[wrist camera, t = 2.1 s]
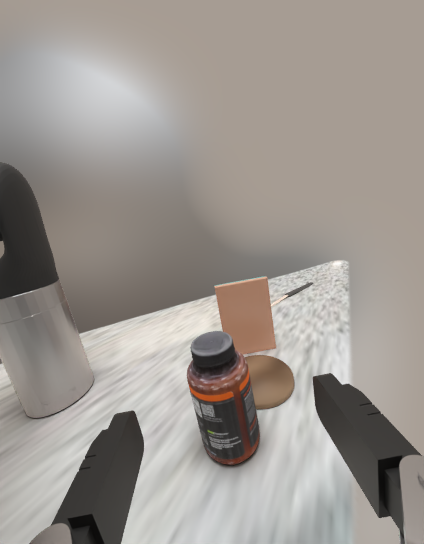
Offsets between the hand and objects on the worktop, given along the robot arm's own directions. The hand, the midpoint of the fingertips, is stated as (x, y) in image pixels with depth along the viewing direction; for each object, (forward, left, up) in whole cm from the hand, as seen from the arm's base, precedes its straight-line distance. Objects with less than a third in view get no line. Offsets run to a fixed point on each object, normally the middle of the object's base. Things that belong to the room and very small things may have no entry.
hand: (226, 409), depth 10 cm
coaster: (-12, +13, -14) cm, 23 cm away
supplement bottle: (-9, +6, -14) cm, 18 cm away
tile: (-17, +18, -14) cm, 29 cm away
